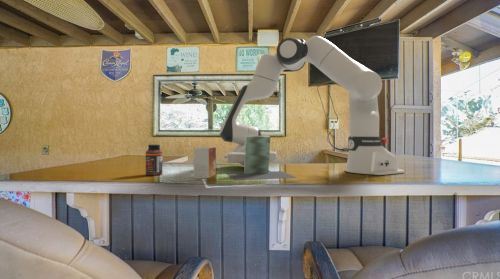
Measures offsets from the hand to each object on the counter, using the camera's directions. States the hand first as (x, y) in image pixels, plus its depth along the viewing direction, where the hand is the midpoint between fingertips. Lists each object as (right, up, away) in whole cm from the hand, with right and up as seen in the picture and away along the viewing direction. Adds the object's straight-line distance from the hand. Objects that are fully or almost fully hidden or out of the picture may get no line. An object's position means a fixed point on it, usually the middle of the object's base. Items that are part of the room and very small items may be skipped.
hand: (256, 158), depth 105 cm
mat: (+1, -6, -5) cm, 8 cm away
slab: (0, -5, 0) cm, 5 cm away
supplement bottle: (-38, -6, 0) cm, 39 cm away
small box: (-18, -6, -6) cm, 20 cm away
